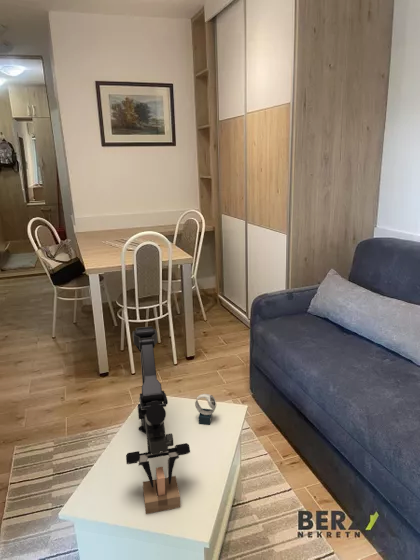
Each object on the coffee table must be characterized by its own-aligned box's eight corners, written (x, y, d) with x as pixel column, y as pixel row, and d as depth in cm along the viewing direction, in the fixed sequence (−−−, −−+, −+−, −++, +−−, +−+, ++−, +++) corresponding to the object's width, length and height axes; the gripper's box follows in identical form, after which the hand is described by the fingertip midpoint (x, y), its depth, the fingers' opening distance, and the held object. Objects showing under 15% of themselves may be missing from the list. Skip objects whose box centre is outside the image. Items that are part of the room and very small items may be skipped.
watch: (215, 425, 154) (215, 400, 150) (194, 423, 155) (193, 398, 152) (217, 416, 159) (217, 392, 156) (197, 414, 160) (196, 390, 157)
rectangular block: (157, 494, 123) (155, 467, 120) (163, 493, 124) (162, 466, 121) (158, 506, 119) (157, 479, 116) (165, 505, 120) (164, 477, 117)
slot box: (143, 492, 124) (142, 481, 123) (175, 486, 126) (175, 475, 125) (145, 514, 117) (145, 503, 116) (180, 507, 119) (180, 496, 118)
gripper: (124, 430, 116) (128, 491, 109) (188, 420, 120) (196, 478, 113) (124, 435, 126) (128, 491, 119) (184, 426, 130) (191, 480, 123)
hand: (161, 485), depth 118 cm, fingers open, 5 cm apart
